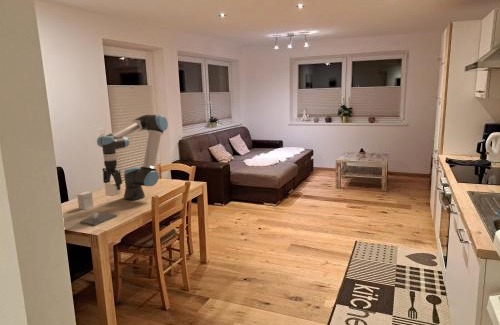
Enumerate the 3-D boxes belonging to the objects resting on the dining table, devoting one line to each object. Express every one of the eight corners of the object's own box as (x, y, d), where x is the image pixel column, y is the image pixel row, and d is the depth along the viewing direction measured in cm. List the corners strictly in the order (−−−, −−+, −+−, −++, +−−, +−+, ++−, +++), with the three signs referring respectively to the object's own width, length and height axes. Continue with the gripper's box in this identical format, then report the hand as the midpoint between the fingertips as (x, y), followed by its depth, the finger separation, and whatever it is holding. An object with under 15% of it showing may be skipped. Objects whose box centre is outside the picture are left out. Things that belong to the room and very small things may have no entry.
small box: (87, 205, 252) (86, 191, 250) (93, 206, 250) (92, 191, 248) (78, 208, 245) (76, 194, 243) (84, 209, 243) (83, 194, 241)
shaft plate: (103, 214, 233) (103, 206, 232) (117, 216, 228) (116, 208, 227) (80, 223, 218) (79, 214, 216) (94, 226, 212) (93, 217, 211)
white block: (114, 192, 238) (112, 180, 236) (121, 193, 235) (120, 181, 233) (105, 195, 232) (104, 182, 230) (113, 196, 229) (112, 183, 227)
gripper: (94, 160, 230) (98, 193, 234) (116, 162, 221) (120, 197, 226) (103, 157, 236) (107, 190, 241) (125, 159, 227) (129, 193, 232)
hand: (114, 193), depth 233 cm, fingers closed on white block, 7 cm apart
